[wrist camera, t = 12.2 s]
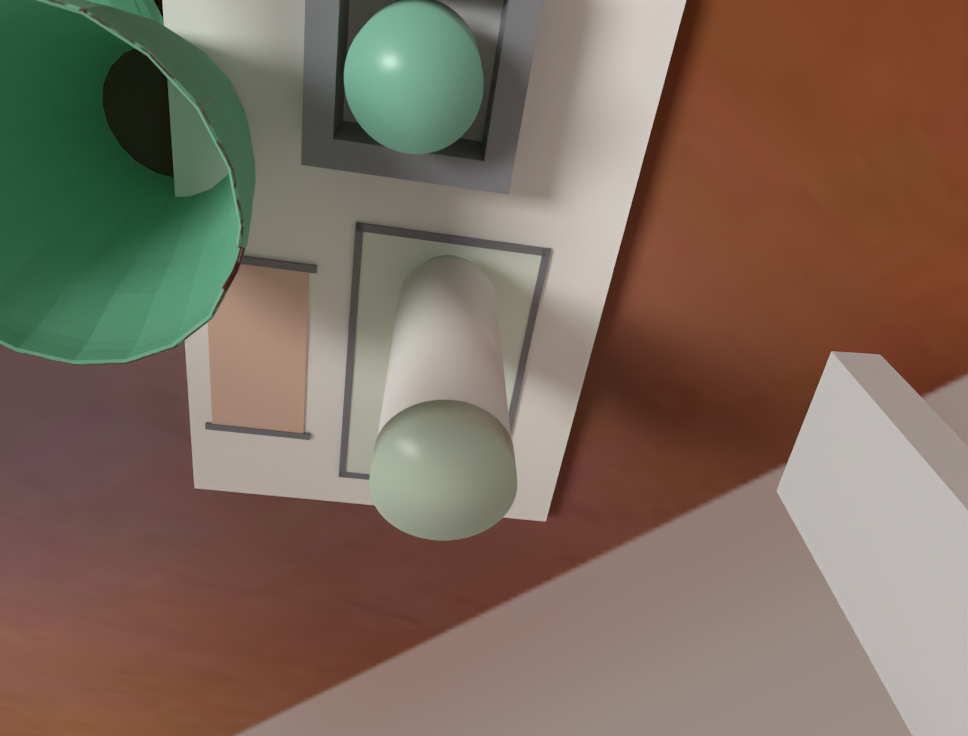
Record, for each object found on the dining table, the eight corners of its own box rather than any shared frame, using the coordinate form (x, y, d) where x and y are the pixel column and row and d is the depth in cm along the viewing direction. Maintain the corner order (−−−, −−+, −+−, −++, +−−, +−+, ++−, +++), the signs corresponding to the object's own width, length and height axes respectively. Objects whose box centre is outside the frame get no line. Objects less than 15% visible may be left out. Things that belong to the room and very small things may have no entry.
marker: (394, 326, 30) (363, 533, 20) (404, 237, 28) (374, 418, 18) (488, 337, 31) (504, 546, 20) (503, 251, 29) (529, 435, 18)
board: (200, 474, 35) (176, 525, 32) (166, -109, 23) (123, -113, 20) (543, 507, 37) (551, 558, 34) (682, -17, 25) (712, -8, 22)
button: (351, 120, 24) (340, 143, 22) (360, -14, 22) (347, -5, 20) (471, 138, 25) (472, 162, 22) (489, 8, 23) (493, 19, 20)
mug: (338, 214, 29) (292, 336, 21) (104, 256, 30) (-35, 391, 21) (204, -254, 22) (44, -365, 13) (-107, -186, 22) (-455, -250, 14)
